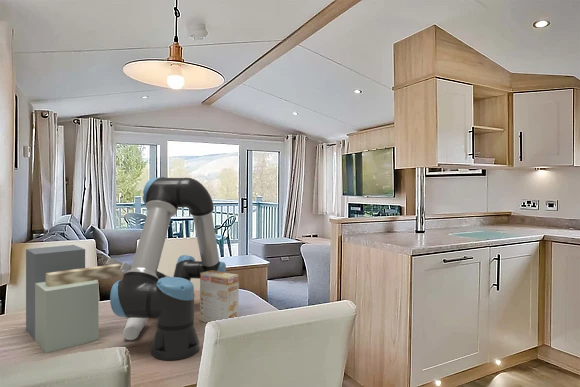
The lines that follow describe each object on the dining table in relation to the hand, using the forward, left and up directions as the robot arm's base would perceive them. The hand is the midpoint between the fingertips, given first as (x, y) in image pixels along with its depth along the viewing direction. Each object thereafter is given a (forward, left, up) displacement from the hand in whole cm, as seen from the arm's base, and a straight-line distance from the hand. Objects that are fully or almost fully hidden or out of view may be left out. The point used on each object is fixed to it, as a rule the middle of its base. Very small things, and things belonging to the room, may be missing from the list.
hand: (114, 262), depth 146 cm
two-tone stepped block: (-1, +18, -25) cm, 30 cm away
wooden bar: (-5, +9, -5) cm, 11 cm away
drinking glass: (-15, -6, -22) cm, 28 cm away
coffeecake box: (-5, -38, -25) cm, 46 cm away
